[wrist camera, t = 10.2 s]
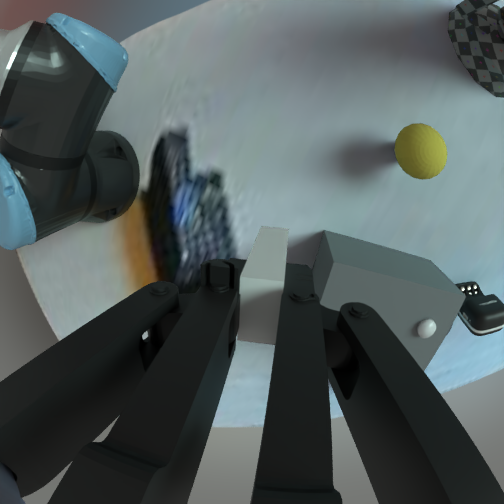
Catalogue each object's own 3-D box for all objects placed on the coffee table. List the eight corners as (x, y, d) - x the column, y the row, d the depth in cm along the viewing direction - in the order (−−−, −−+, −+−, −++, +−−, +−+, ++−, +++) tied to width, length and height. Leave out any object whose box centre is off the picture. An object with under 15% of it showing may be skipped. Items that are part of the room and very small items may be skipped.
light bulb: (430, 148, 32) (465, 149, 23) (406, 184, 35) (437, 195, 26) (395, 117, 32) (424, 108, 23) (371, 154, 34) (394, 155, 25)
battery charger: (478, 276, 37) (513, 308, 26) (475, 295, 38) (506, 330, 27) (447, 280, 38) (480, 316, 28) (444, 301, 39) (474, 339, 29)
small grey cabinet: (301, 303, 43) (300, 356, 32) (324, 230, 39) (334, 264, 27) (411, 326, 42) (435, 376, 30) (440, 263, 38) (479, 302, 26)
